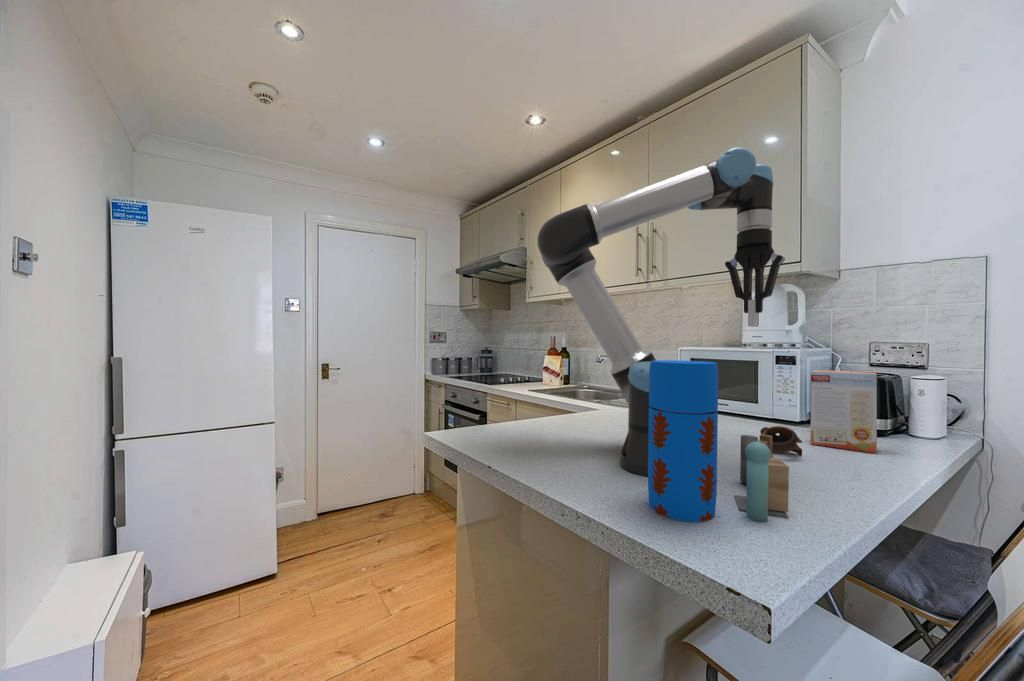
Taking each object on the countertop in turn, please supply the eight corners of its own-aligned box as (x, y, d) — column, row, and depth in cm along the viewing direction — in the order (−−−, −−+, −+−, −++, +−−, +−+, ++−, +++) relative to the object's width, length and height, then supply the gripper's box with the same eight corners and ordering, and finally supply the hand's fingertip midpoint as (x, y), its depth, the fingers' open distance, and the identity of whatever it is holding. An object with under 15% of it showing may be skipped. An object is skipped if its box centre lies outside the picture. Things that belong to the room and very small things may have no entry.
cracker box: (876, 450, 110) (877, 372, 110) (876, 454, 106) (877, 373, 106) (812, 441, 120) (813, 369, 120) (809, 444, 115) (810, 370, 115)
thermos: (685, 527, 63) (687, 364, 63) (634, 502, 72) (636, 360, 72) (730, 514, 68) (732, 363, 68) (677, 492, 77) (679, 360, 77)
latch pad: (734, 496, 76) (734, 494, 76) (778, 502, 73) (778, 500, 73) (739, 510, 69) (739, 508, 69) (788, 518, 67) (788, 516, 67)
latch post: (741, 517, 67) (742, 441, 67) (748, 510, 69) (749, 438, 69) (766, 524, 64) (767, 445, 64) (772, 517, 67) (773, 442, 67)
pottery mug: (815, 461, 101) (809, 434, 98) (782, 478, 101) (775, 452, 98) (777, 437, 112) (771, 413, 110) (746, 453, 112) (740, 428, 109)
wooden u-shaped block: (733, 477, 85) (733, 434, 85) (760, 480, 83) (761, 436, 83) (753, 508, 69) (754, 454, 69) (788, 512, 68) (788, 457, 68)
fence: (747, 480, 85) (747, 441, 85) (761, 469, 92) (762, 434, 92) (758, 482, 84) (758, 443, 83) (772, 471, 90) (772, 435, 90)
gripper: (789, 229, 100) (787, 326, 100) (731, 238, 109) (730, 327, 109) (780, 222, 94) (779, 325, 94) (720, 233, 104) (719, 326, 104)
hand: (752, 326), depth 102 cm, fingers closed
